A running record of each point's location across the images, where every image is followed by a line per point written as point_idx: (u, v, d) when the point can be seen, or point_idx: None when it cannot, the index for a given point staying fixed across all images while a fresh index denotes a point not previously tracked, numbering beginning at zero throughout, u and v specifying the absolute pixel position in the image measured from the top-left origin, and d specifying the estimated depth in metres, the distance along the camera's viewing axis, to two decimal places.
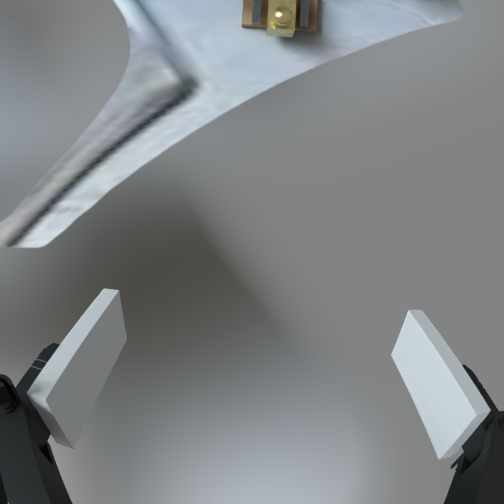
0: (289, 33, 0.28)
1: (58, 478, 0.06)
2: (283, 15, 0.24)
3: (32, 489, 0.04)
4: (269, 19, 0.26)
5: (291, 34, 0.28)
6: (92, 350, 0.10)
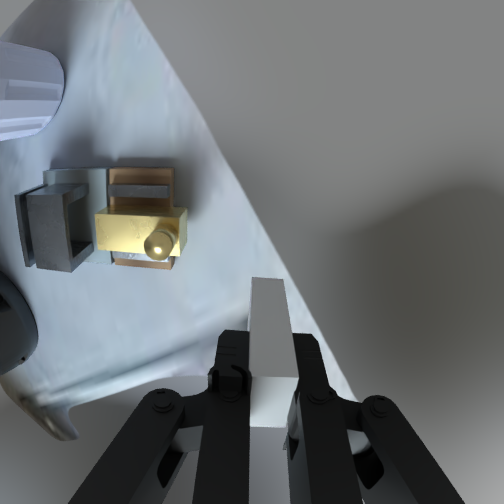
0: (183, 218, 0.24)
1: None
2: (159, 247, 0.21)
3: (232, 486, 0.05)
4: None
5: (184, 214, 0.24)
6: None
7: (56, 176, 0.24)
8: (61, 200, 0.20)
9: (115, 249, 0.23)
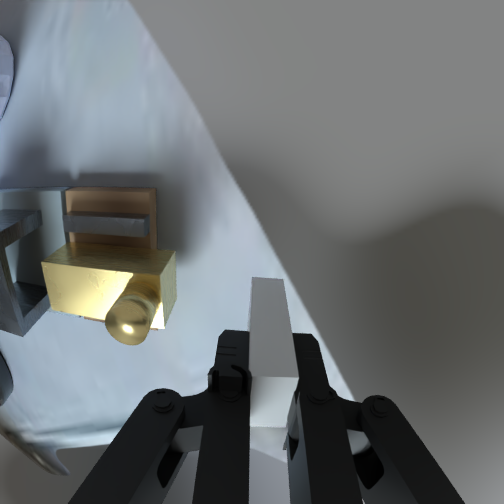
0: (168, 271, 0.15)
1: None
2: (128, 327, 0.12)
3: (232, 486, 0.05)
4: None
5: (169, 263, 0.15)
6: None
7: (3, 200, 0.16)
8: None
9: (74, 312, 0.15)
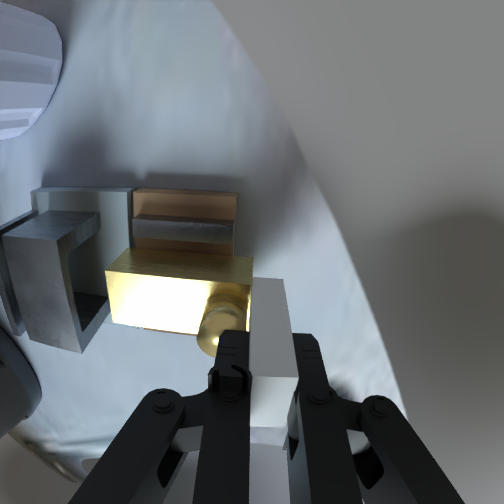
0: None
1: None
2: None
3: (232, 486, 0.05)
4: None
5: None
6: None
7: (49, 200, 0.16)
8: (56, 249, 0.12)
9: (141, 324, 0.15)
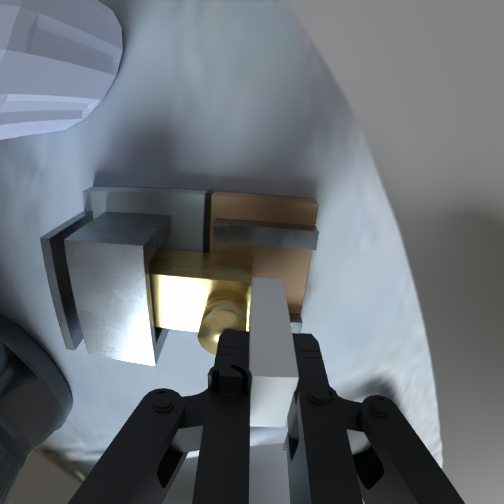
0: None
1: None
2: None
3: (232, 486, 0.05)
4: None
5: None
6: None
7: (107, 201, 0.16)
8: (140, 256, 0.12)
9: None
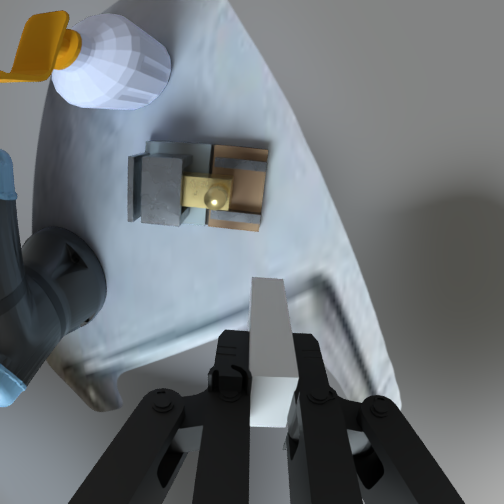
0: (232, 182, 0.30)
1: None
2: (216, 199, 0.27)
3: (232, 486, 0.05)
4: None
5: (232, 179, 0.31)
6: None
7: (159, 147, 0.31)
8: (180, 163, 0.27)
9: None
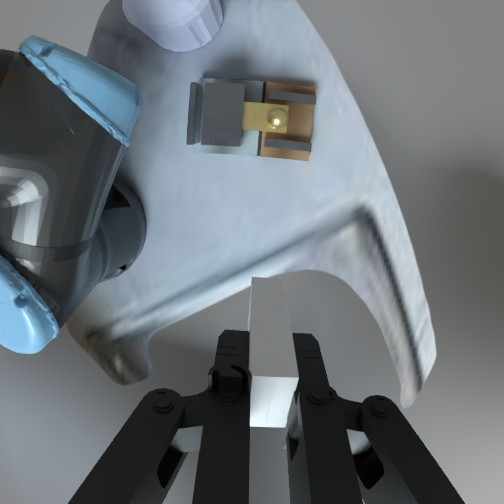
0: None
1: None
2: (280, 117, 0.28)
3: (232, 485, 0.05)
4: (275, 130, 0.30)
5: None
6: None
7: None
8: (243, 88, 0.28)
9: None
